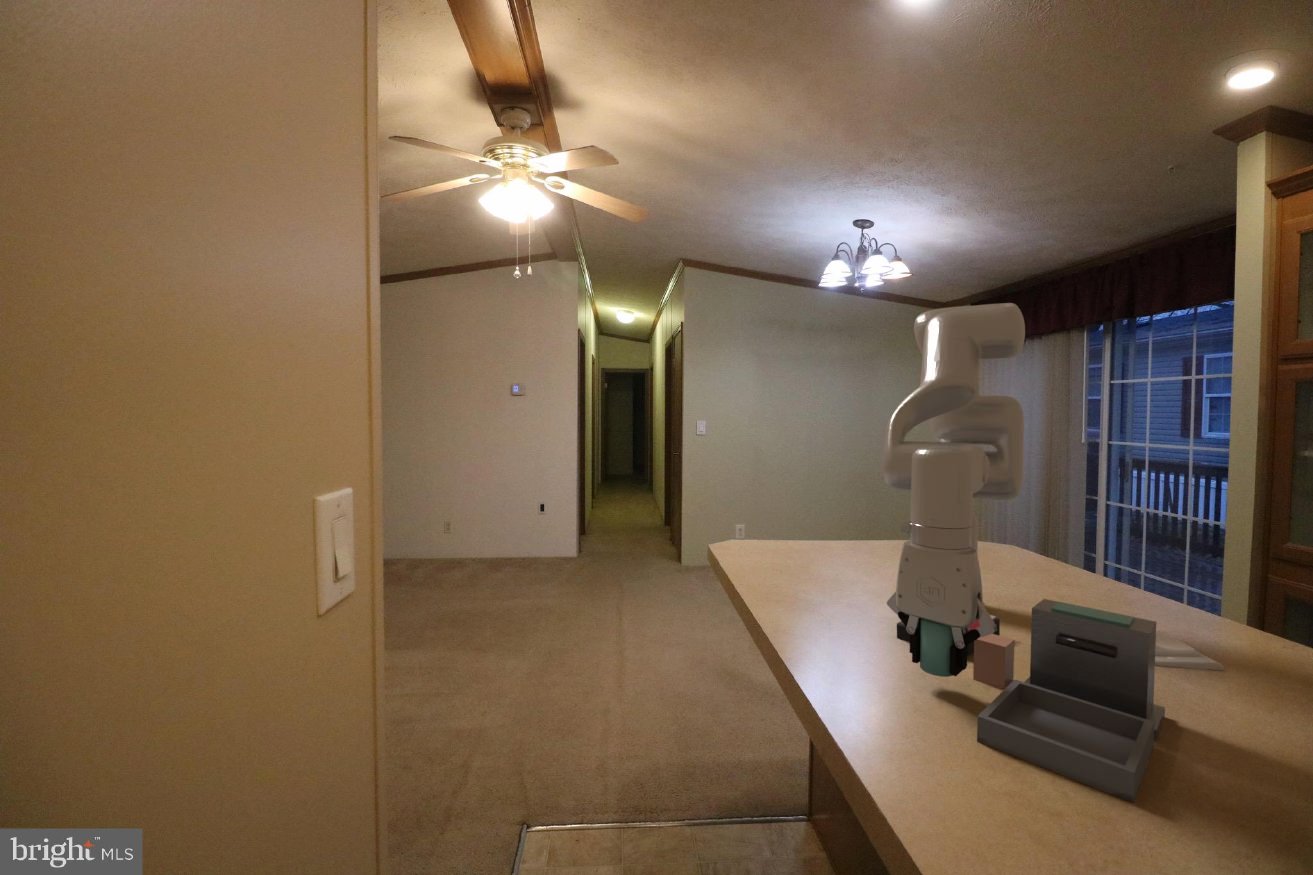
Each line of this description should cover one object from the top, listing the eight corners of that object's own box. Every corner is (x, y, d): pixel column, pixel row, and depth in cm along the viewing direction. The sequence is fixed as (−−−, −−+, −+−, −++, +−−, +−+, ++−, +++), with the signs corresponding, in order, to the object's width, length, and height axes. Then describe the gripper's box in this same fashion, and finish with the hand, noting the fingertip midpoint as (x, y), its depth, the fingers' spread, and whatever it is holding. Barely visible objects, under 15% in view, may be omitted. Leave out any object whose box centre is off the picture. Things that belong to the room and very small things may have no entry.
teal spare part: (914, 668, 78) (915, 619, 77) (927, 659, 81) (928, 611, 80) (948, 679, 74) (949, 628, 74) (960, 669, 77) (961, 620, 77)
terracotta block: (973, 679, 81) (974, 638, 81) (982, 671, 84) (983, 631, 83) (1004, 689, 78) (1005, 646, 78) (1013, 680, 81) (1014, 639, 80)
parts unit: (1018, 696, 76) (1020, 605, 75) (1035, 678, 81) (1037, 593, 81) (1155, 741, 65) (1159, 635, 65) (1164, 716, 71) (1168, 619, 70)
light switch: (1087, 620, 97) (1171, 621, 95) (1088, 644, 97) (1172, 646, 95) (1127, 645, 86) (1223, 647, 84) (1128, 672, 87) (1224, 674, 84)
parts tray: (976, 741, 65) (977, 716, 65) (1014, 701, 75) (1014, 679, 74) (1133, 802, 55) (1134, 772, 55) (1153, 747, 64) (1154, 721, 64)
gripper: (868, 530, 80) (866, 654, 81) (1000, 552, 68) (996, 698, 69) (892, 523, 85) (890, 640, 86) (1019, 542, 73) (1015, 678, 74)
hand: (937, 664), depth 78 cm, fingers closed on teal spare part, 4 cm apart
